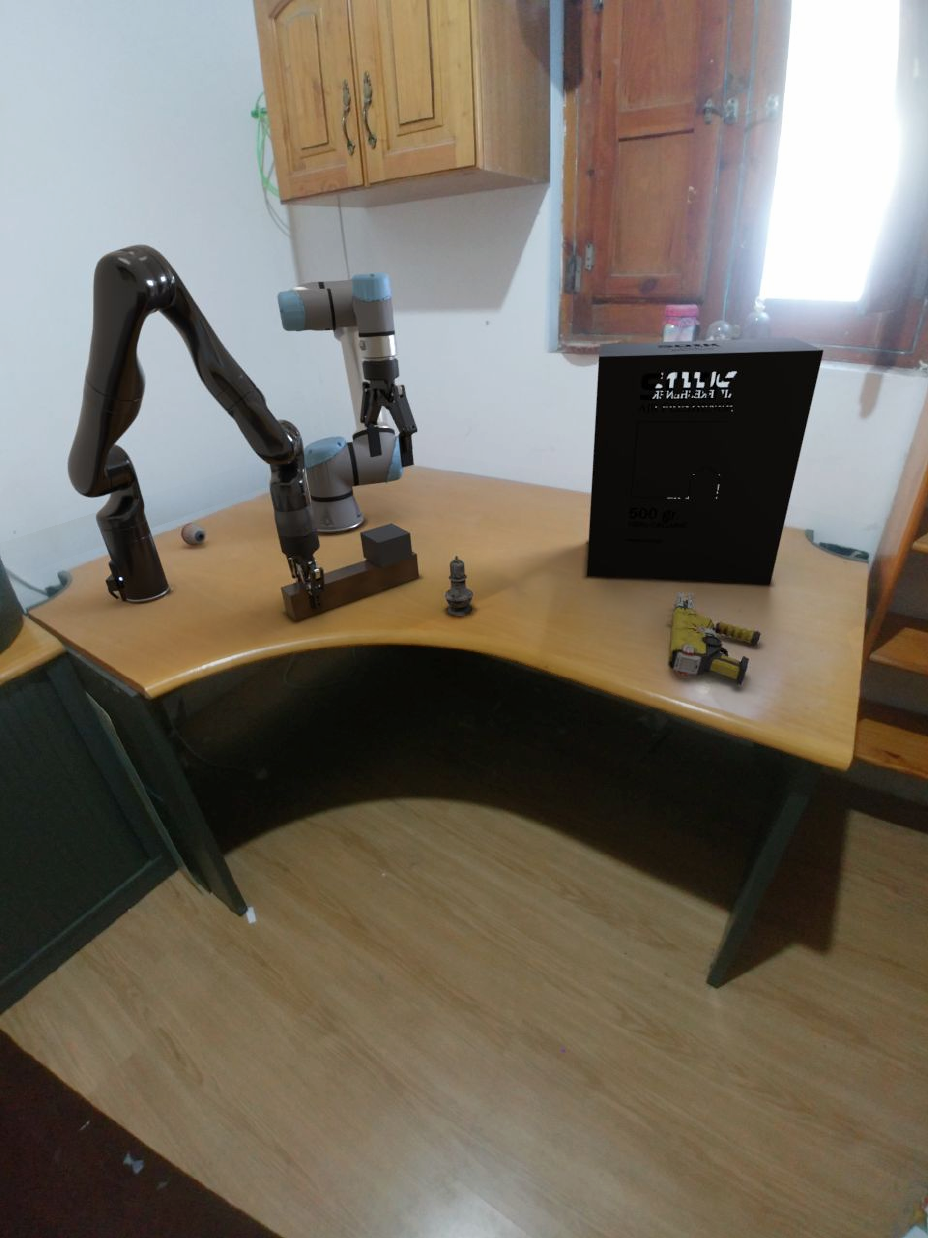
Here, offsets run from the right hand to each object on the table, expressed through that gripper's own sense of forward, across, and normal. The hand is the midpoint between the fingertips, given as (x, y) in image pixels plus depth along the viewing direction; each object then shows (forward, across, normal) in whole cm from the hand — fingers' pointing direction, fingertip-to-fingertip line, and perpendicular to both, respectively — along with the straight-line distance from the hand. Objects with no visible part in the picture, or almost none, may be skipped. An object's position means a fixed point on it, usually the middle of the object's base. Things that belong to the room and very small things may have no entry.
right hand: (391, 460), depth 135 cm
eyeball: (+23, -47, -36) cm, 63 cm away
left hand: (+23, +8, -28) cm, 37 cm away
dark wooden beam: (+24, +9, -18) cm, 31 cm away
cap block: (+18, +9, -9) cm, 22 cm away
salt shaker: (+25, +30, -5) cm, 39 cm away
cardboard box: (+25, +45, +45) cm, 68 cm away
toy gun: (+25, +71, +20) cm, 78 cm away
